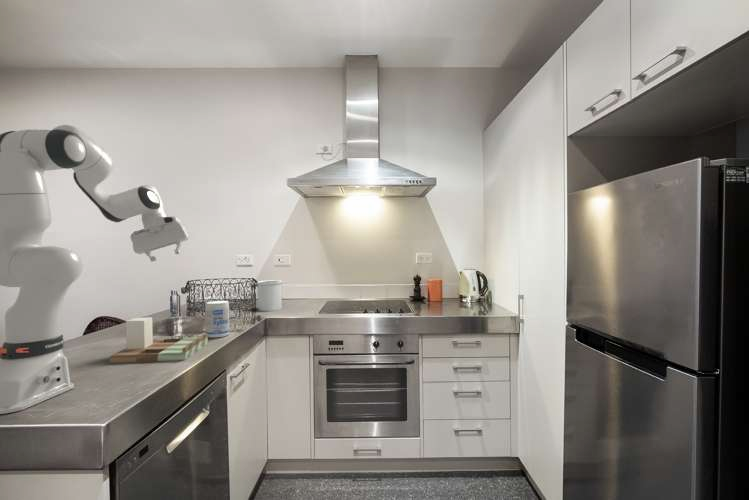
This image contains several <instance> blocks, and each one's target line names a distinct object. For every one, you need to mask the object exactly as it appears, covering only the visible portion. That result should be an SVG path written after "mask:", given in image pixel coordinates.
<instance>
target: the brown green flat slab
mask: <svg viewBox="0 0 749 500" xmlns="http://www.w3.org/2000/svg"><path fill="white" fill-rule="evenodd" d="M208 339H209V337H208V335H207V333H206V332H205V333H203V334H202V335H200V336H198V337H181V338H180V337H179V338H155V339H154V338H153V344H152V345H150V346H148V347H147V348H145V349H127V347H126V348H124V349H122V350H119V351H117V352H115V353H113V354H111V355H110V357H109V358H110V361H109V363H110V364H126V363H129V364H130V363H148V362H151V363H152V362H165V361H167V362H170V361H186V360H188V359H189V358H190V357H192V356H193V355H194V354H195V353H196V352H198V351H199V350H201V349H203V347H205V346H206V345H207V344H208V341H209V340H208Z"/></svg>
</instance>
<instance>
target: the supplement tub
mask: <svg viewBox="0 0 749 500" xmlns="http://www.w3.org/2000/svg"><path fill="white" fill-rule="evenodd" d="M204 312H205V333H207V335H208V339H209V338H211V339H213V338H214V339H216V338H225V337H226V336H229V335H230V302H229V301H227V300H213V301H206V302H205V311H204Z"/></svg>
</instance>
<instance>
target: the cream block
mask: <svg viewBox="0 0 749 500" xmlns="http://www.w3.org/2000/svg"><path fill="white" fill-rule="evenodd" d="M125 325H126V327H125V329H126V333H125V335H126V336H125V337H126V348H127V349H145V348H147V347H148V346H150V345H152V344H153V339H154V337H153V336H154V335H153V333H154V332H153V329H154V328H153V317H133V318H132V319H131V318H130V319H128V320H126V323H125Z"/></svg>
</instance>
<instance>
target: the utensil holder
mask: <svg viewBox="0 0 749 500" xmlns="http://www.w3.org/2000/svg"><path fill="white" fill-rule="evenodd" d="M282 283H283V281H282V280H280V279H271V280H270V279H269V280H259V281H257V282H256V286H257V305H258V306H257V307H258V311H259V312H275V311H279V310H282V308H283V307H282V304H283V303H282V302H283V300H282V298H283V297H282V296H283V295H282V292H283V291H282Z"/></svg>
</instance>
